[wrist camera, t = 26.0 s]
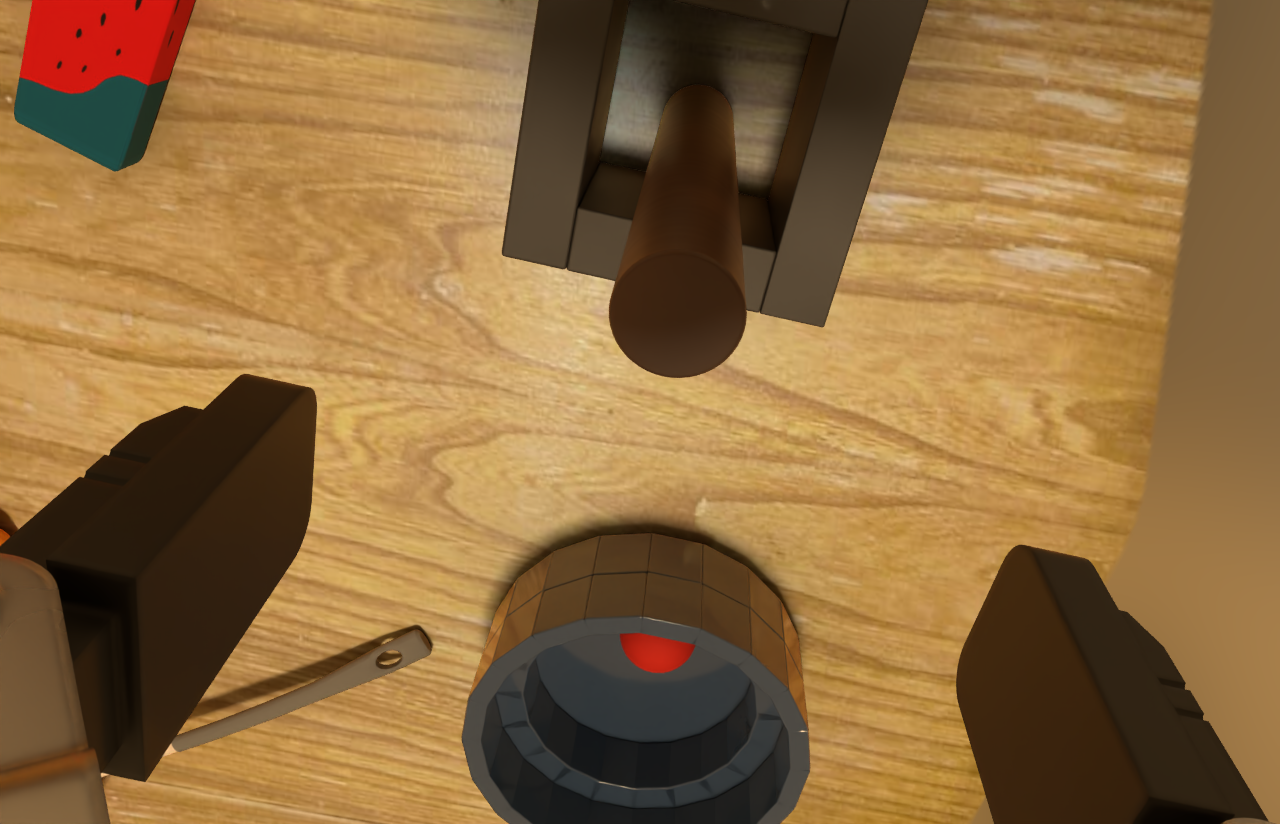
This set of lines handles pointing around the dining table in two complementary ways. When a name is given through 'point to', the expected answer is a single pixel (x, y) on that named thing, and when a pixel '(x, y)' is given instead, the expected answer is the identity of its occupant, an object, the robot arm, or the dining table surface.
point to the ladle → (310, 691)
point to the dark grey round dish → (639, 692)
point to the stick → (684, 245)
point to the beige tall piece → (3, 536)
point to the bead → (655, 652)
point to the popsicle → (99, 73)
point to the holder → (770, 229)
